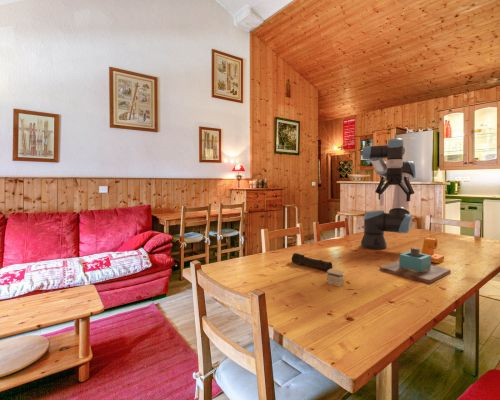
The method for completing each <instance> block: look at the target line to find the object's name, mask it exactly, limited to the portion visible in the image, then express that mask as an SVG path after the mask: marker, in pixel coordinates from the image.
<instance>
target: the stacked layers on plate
mask: <svg viewBox="0 0 500 400" xmlns="http://www.w3.org/2000/svg"><path fill="white" fill-rule="evenodd" d="M326 273H327V274H326V276H327V278H326V281H327V284H328V285H332V286H336V287H341V286H342V285H344V281H345V280H344V277H345V274H344V273H345V272H343V271H341V270H339V269H336V268H332V269H329V270H328V271H327V270H326Z"/></svg>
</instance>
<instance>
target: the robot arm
mask: <svg viewBox="0 0 500 400" xmlns="http://www.w3.org/2000/svg"><path fill="white" fill-rule="evenodd" d="M405 152H406V148H405V146H404V139H403V138H400V137H397V138H390V139H388V140H387V144H384V145H380V144H379V145H368V146H364V147H363V148H362V158H363V159H364V160H369V161H370V163H371V164H372V166H373V171H374V172H375V173H376V174H377V175H378V176H380V181H379V183H378V185H377V187H376V189H375V191H374V192H375V193H376V194H378V200H379V206H380V207H381V206H384V204H385V203H384V199H385V194H384V193H385V191H386V190H387V189H388V188H389V187H390V186H391V185H392V186H393V185H394V188H393V189H394V190H393V199H392V208H390V209H389V210H388V213H387V212H385V211H384V210H383V209H381V210H379V209H378V210H370V211H366V212H365V213H364V217H363V236H362V239H361V242H360V247H362V248H365V249H370V250H385V249H387V242H386V238H385V233H386V232H387V233H397V234H407V233H409V232H410V231H411V227H412V225H413V224H412V223H413V215H412V214H410V211H409V210H408V208H409V202H410V201H411V195H414V194H415V191H414V189H413V188H414V187H412V185H411V184H412V181H413V179H416V178H417V177H416V166H415V162H414V161H412V160H406V161H404V160H403V156H404V155H405ZM385 159H386V160H385ZM384 232H385V233H384Z"/></svg>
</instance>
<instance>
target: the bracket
mask: <svg viewBox="0 0 500 400" xmlns="http://www.w3.org/2000/svg"><path fill="white" fill-rule="evenodd" d="M438 243H439V242H438V239H437V238H432V237H425V238H424V239H423V243H422V244H423V245H422V250H421V252H420V253H421V254H426V255H431V263H435V264H439V263H442V262H443V260H445V255H443V254H437V253H435V251H434V250H437V248H438Z"/></svg>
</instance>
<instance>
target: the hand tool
mask: <svg viewBox="0 0 500 400" xmlns="http://www.w3.org/2000/svg"><path fill="white" fill-rule="evenodd" d="M291 262H292V263H293V264H296V265H298V266H308V267H311V268H314V269H320V270H322V271H323V270H324V271H326V272H327V271H328V270H329V269H333V263H332V262H331V261H325V260H321V259H315V258H310V257H306V256H305V254H302V253H297V252H296V253H293V254H292V256H291Z"/></svg>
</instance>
